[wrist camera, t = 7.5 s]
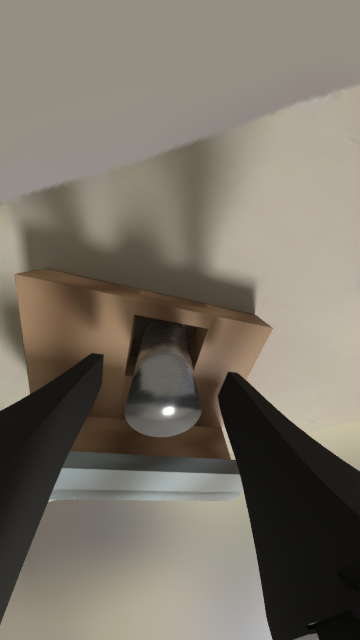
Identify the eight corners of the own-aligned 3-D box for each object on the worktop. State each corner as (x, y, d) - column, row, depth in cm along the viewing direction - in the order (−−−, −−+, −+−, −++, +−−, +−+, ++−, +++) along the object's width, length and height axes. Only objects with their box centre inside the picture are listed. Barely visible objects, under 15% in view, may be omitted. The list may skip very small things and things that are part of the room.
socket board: (255, 314, 14) (330, 372, 8) (210, 412, 18) (234, 500, 12) (45, 268, 11) (-113, 296, 5) (52, 396, 16) (-25, 499, 9)
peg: (182, 356, 15) (195, 436, 9) (142, 354, 15) (125, 437, 8) (188, 320, 14) (207, 384, 7) (143, 317, 13) (123, 382, 7)
